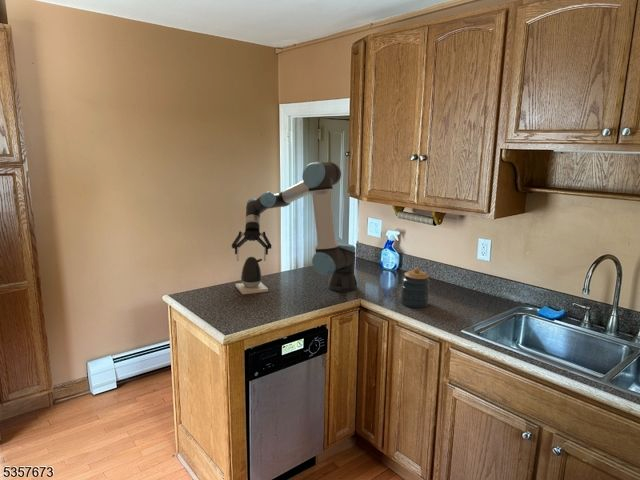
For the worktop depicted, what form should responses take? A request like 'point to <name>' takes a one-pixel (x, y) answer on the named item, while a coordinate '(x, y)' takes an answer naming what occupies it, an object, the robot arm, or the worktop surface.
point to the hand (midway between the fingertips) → (251, 259)
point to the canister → (415, 289)
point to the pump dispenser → (251, 272)
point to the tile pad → (248, 290)
